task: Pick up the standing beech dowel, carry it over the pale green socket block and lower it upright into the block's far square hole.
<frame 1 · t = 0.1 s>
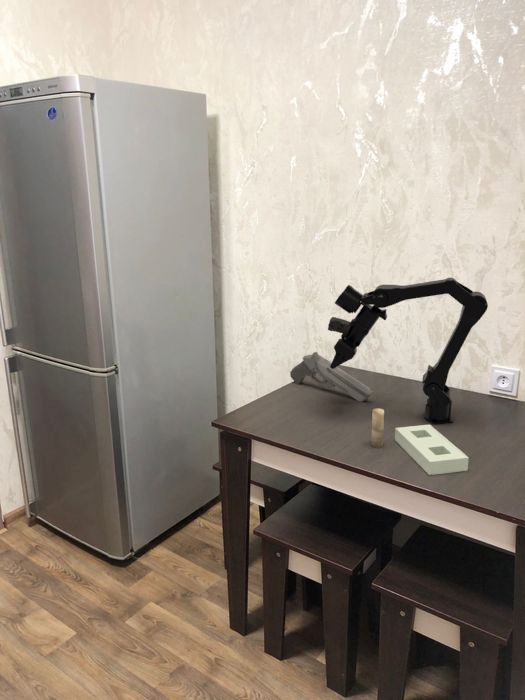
hand: (334, 363, 171), 15 cm above the table, tool tilted 35°, fingers open, 9 cm apart
dowel: (376, 445, 151), on the table
socket block: (429, 454, 145), on the table
handgun: (329, 392, 190), on the table
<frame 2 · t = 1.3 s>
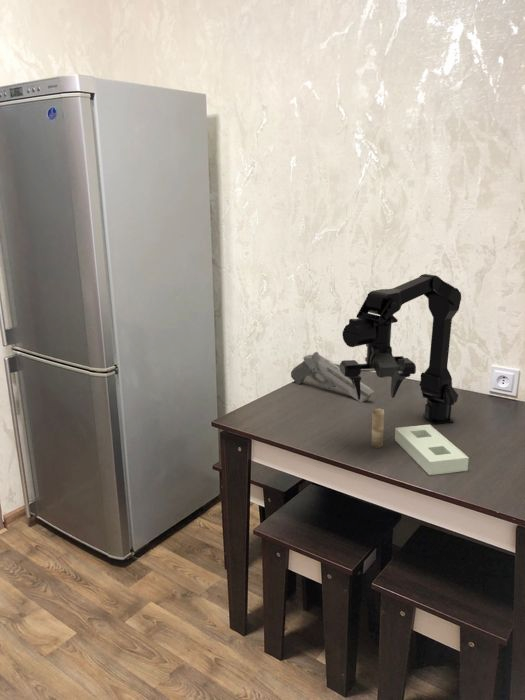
hand: (375, 398, 148), 13 cm above the table, tool pointing down, fingers open, 9 cm apart
nothing on the table moved.
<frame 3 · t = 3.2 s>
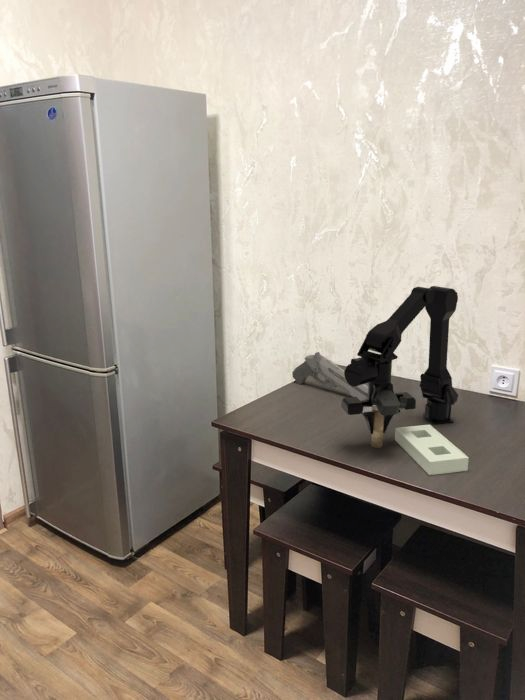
hand: (377, 433, 150), 4 cm above the table, tool pointing down, fingers closed on dowel, 3 cm apart
dowel: (376, 445, 151), on the table, touching gripper
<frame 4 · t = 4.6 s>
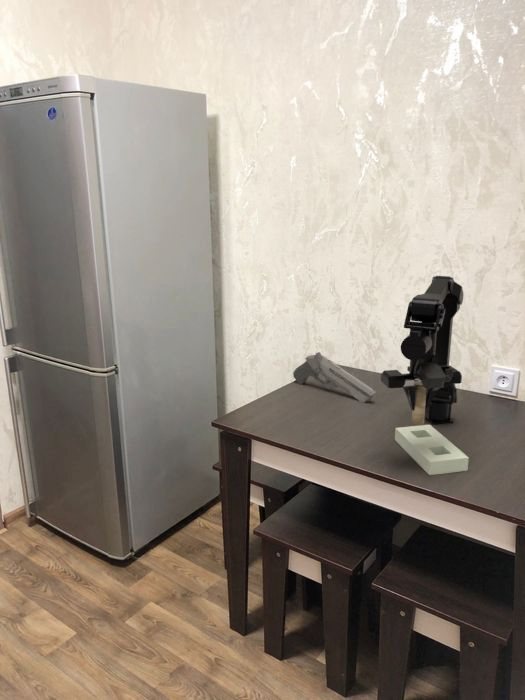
hand: (418, 409, 140), 13 cm above the table, tool pointing down, fingers closed on dowel, 3 cm apart
dowel: (417, 422, 141), point 10 cm above the table, touching gripper
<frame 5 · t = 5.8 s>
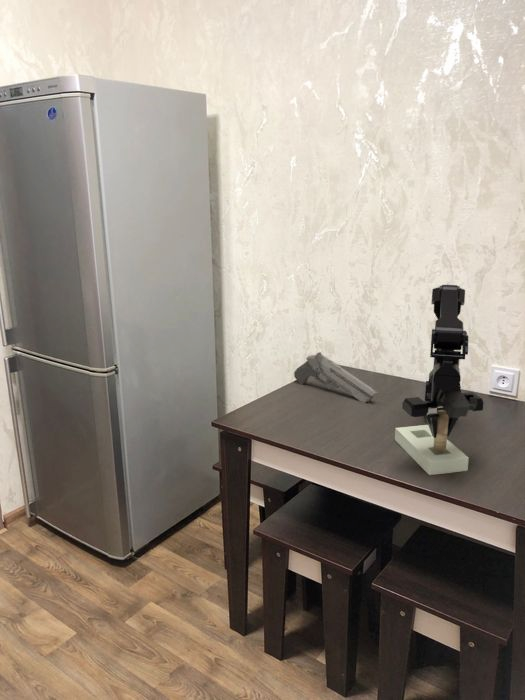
hand: (440, 436, 139), 7 cm above the table, tool pointing down, fingers closed on dowel, 3 cm apart
dowel: (439, 449, 139), point 4 cm above the table, touching gripper
when the fingers open (5 cm above the table, at t = 6.4 s): dowel drops 1 cm, resting in socket block.
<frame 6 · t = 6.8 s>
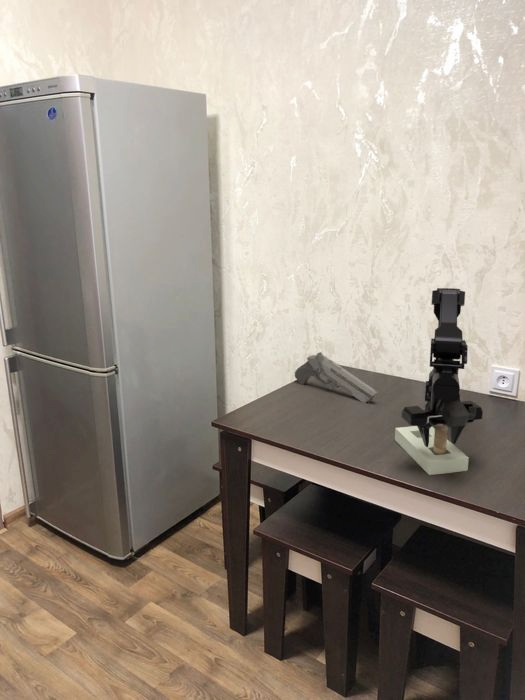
hand: (439, 445, 139), 5 cm above the table, tool pointing down, fingers open, 7 cm apart
dowel: (438, 463, 141), resting in socket block
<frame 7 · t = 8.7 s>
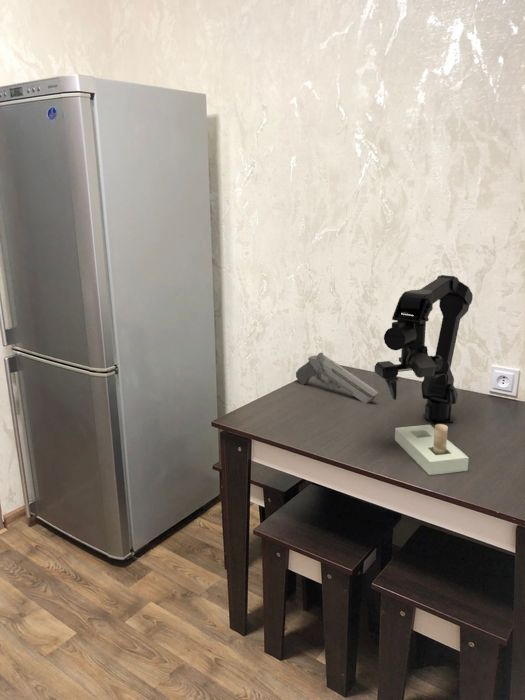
hand: (410, 397, 149), 13 cm above the table, tool pointing down, fingers open, 9 cm apart
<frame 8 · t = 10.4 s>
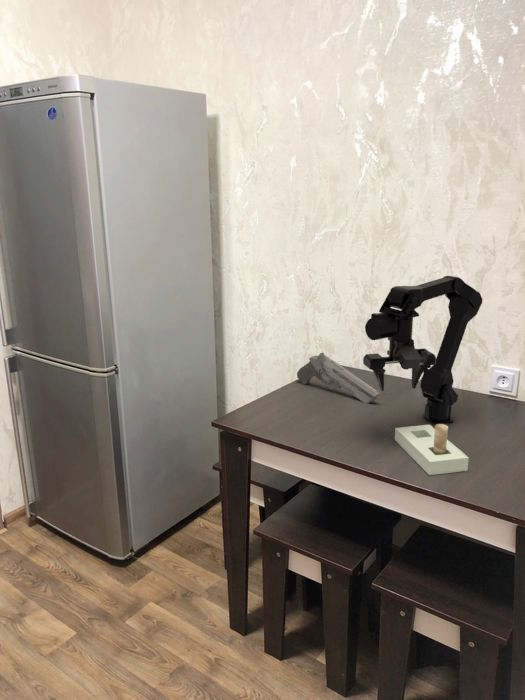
hand: (397, 389, 154), 13 cm above the table, tool pointing down, fingers open, 9 cm apart
at the end: dowel 0.0 cm from the target spot, resting in socket block; dowel tilted 0°; the gripper is holding nothing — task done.
